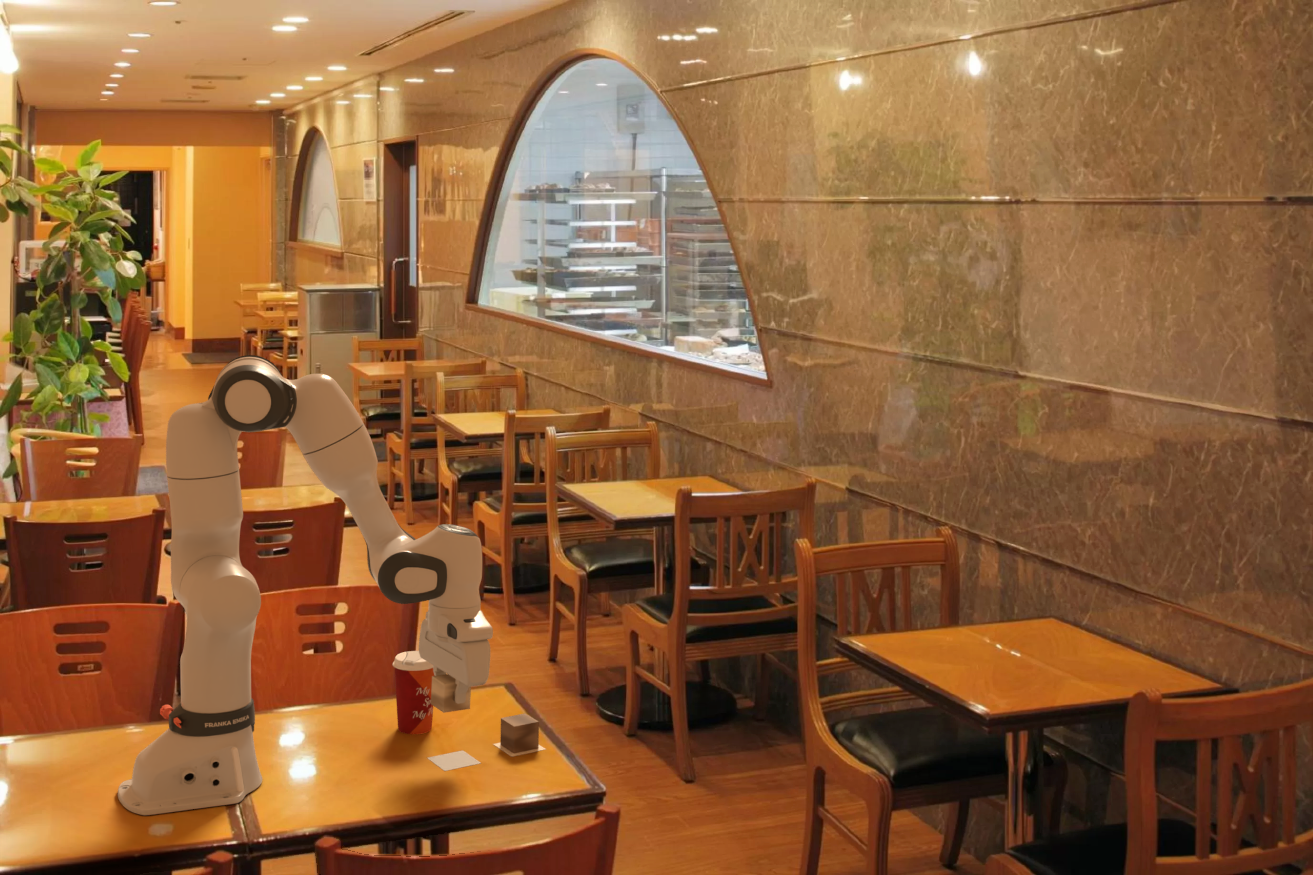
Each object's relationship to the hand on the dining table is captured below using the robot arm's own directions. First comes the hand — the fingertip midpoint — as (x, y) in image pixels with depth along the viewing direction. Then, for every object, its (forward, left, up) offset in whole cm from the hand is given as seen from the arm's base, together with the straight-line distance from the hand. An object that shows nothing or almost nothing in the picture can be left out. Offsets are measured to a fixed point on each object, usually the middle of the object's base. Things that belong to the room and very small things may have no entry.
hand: (450, 696), depth 232 cm
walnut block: (+14, 0, -12) cm, 18 cm away
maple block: (0, 0, -2) cm, 2 cm away
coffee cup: (+2, +18, -13) cm, 22 cm away
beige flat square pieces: (+8, 0, -13) cm, 15 cm away
